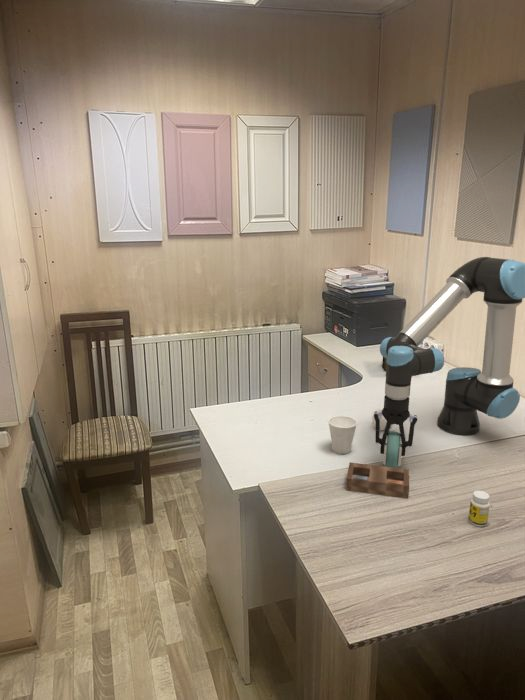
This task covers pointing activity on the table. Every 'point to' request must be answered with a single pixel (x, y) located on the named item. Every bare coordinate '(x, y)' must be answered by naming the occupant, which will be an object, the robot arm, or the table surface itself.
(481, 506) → the supplement bottle
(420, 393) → the table surface
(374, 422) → the beige round lump
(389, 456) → the plug
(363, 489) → the socket block
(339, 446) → the cup
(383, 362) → the wooden crate
